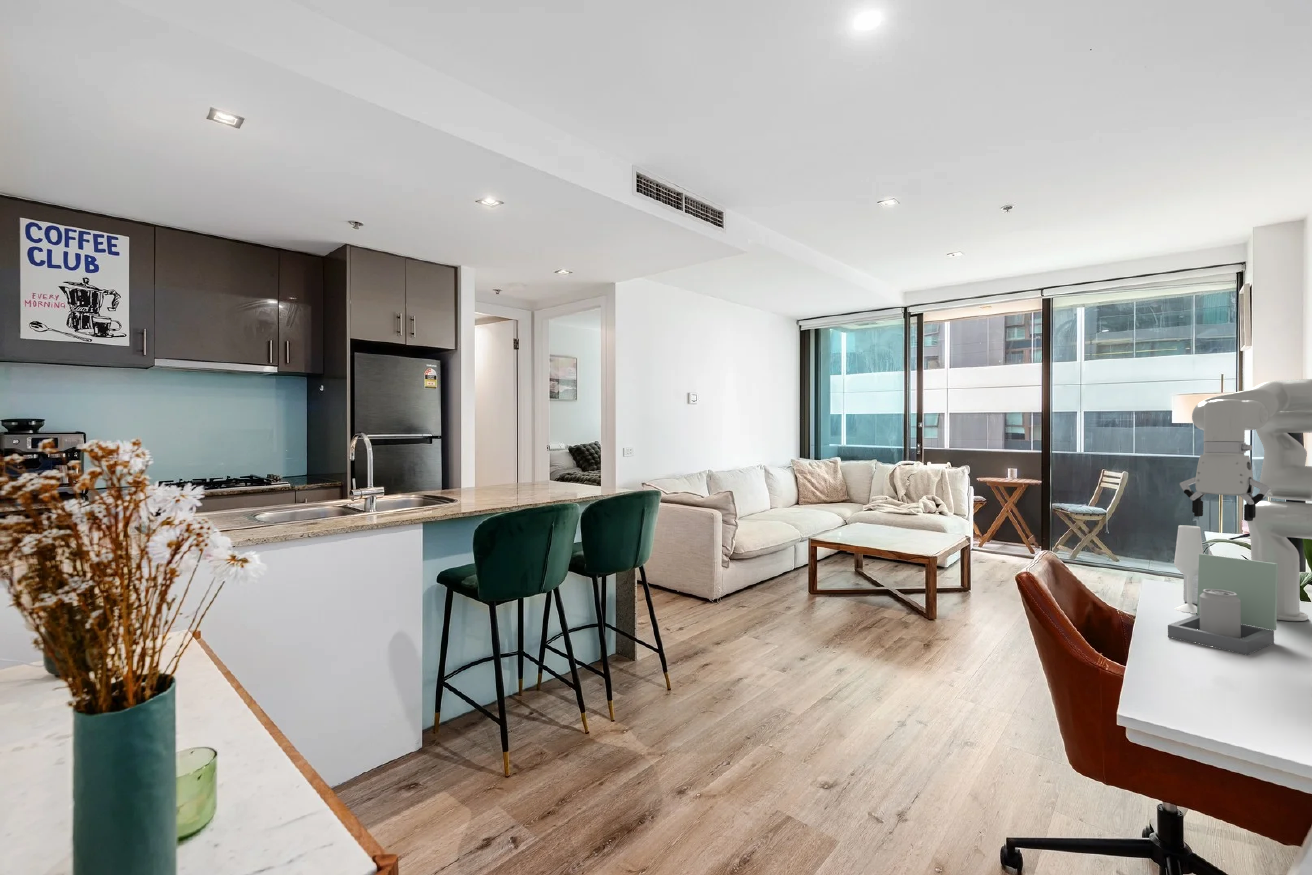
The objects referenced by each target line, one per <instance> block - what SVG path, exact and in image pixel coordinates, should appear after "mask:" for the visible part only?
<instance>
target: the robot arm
mask: <svg viewBox="0 0 1312 875" xmlns="http://www.w3.org/2000/svg"><path fill="white" fill-rule="evenodd" d="M1191 420H1192V423H1193V424H1194V427H1196V428H1197V429H1198V430H1199V429H1200V430H1201V431H1203V454H1200V455H1199V459H1198V463H1197V466H1196V473H1195V476H1194V477H1192V478H1188V479H1185V480H1184V481H1181V482H1179V486H1180V488H1181V489H1182V491H1183V493H1184V494H1185V495H1186V496H1187V497H1188V498H1189V499H1190V500H1191V501H1192V505H1191V509H1192V510H1191V511H1192V513H1193V515H1194V517H1196V518H1197V517H1203V516H1204V500H1202V498H1203V497H1205V496H1206V495H1218V496H1233V497H1235V496H1236V497H1237V496H1238V497H1241V498H1242V499H1243V500H1244V501H1245V504H1244V505H1243V520H1244V521H1245V522H1246V523H1247V526H1248V531H1249V537H1250V540H1249V541H1250V560H1252V561H1260V562H1268V563H1276V564H1278V589H1277V621H1289V622H1305V621H1308V619H1309V616H1308V614H1307V613H1305V612H1303V611H1300V610H1301V609H1300V605H1301V604H1300V603H1301V602H1300V601H1301V599H1300V594H1301V593H1300V592H1301V591H1300V586H1301V584H1300V553H1299V550H1298V549H1297V547H1295V545H1294V544H1293V543H1292V542H1291V541H1290V539H1288V538H1297V539H1306V540H1307V539H1308V540H1312V503H1307V502H1312V465H1306V464H1307V456H1308V451H1307V450H1306V448H1305V447H1304V446H1303V445H1302V444H1301V442H1299V441H1298V440H1297V439H1295V438H1294V437H1293V436H1291V435H1290V434H1292V433H1293V434H1300V433H1301V434H1303V433H1304V434H1307V433H1308V434H1310V433H1311V434H1312V378H1306V379H1305V378H1304V379H1287V380H1286V379H1285V380H1271V381H1266V382H1262V383H1260V384H1258V385H1256V386H1254V387H1252V388H1250V389H1246V390H1241V391H1236V392H1233V393H1226V394H1223V395H1216V396H1213V397H1208V398H1206V399H1204V400H1202V401H1200V402H1198V403H1197V404H1196V405H1195V406H1194V408H1193V410H1192V414H1191ZM1254 430H1255V431H1256V433H1257V436H1258V437H1259V441H1260V442H1261V444H1262V447H1263V451H1264V452H1263V460H1262V464H1261V465H1262V466H1261V471H1260V477H1259V481H1258V480H1255V479H1254V475H1253V474H1254V473H1253V467H1252V466H1253V465H1252V461H1251V458H1250V455H1246V452H1248V451H1252V450H1253V444H1247V443H1246V442H1245V440H1246V439H1245V438H1246V437H1245V432H1246V431H1254ZM1289 433H1290V434H1289ZM1191 485H1195V486H1194V487H1195V492H1194V491H1193V490H1192V489H1191V487H1190V486H1191ZM1254 488H1256V489H1259V492H1258V493H1257V494H1255V495H1253V494H1254V490H1255V489H1254ZM1266 497H1267V498H1271V499H1277V500H1265V498H1266ZM1281 500H1284V501H1281ZM1285 500H1286V501H1285ZM1288 500H1289V501H1288ZM1294 501H1303V502H1294ZM1304 501H1305V502H1304Z"/></svg>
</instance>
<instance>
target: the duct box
mask: <svg viewBox="0 0 1312 875" xmlns="http://www.w3.org/2000/svg"><path fill="white" fill-rule="evenodd" d="M1197 629H1200V616H1199V615H1197V614H1194V615H1193V616H1191V617H1187V618H1184V619H1180V620H1178V621H1175V622H1172V623H1168V624H1167V637H1168V638H1171V637H1173V638H1172V639H1175V638H1177V639H1176V640H1180V639H1181V640H1180V641H1184V640H1185V642H1188V641H1189V642H1190V643H1193V642H1196V643H1195V644H1197V643H1200V644H1199V645H1201V644H1203V645H1202V646H1206V645H1207V646H1206V647H1210V646H1213V647H1212V648H1214V647H1216V648H1215V649H1219V648H1220V649H1219V650H1224V651H1227V650H1230V651H1229V652H1232V651H1233V652H1232V653H1237V654H1241V655H1245V654H1246V656H1248V655H1250V654H1252V653H1255V652H1257V651H1259V650H1261V649H1264V648H1266V647H1268V646H1270V645H1273V644H1275V630H1269V629H1264V628H1259V627H1254V626H1249V625H1244V624H1241V639H1239V638H1234V637H1229V636H1225V635H1220V634H1215V633H1211V632H1206V631H1201V630H1197Z"/></svg>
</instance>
